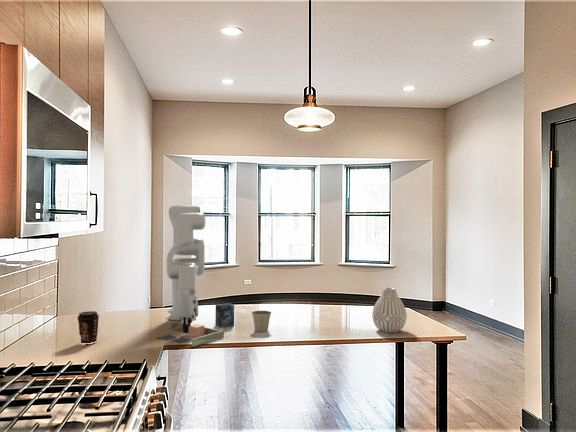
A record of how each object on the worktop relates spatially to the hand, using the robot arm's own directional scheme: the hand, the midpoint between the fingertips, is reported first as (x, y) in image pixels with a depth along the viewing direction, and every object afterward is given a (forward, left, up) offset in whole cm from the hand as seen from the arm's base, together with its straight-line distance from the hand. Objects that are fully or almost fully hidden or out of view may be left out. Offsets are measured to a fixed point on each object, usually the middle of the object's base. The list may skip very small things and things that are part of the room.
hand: (186, 332), depth 229 cm
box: (+2, +24, -1) cm, 24 cm away
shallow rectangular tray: (+1, -4, -1) cm, 4 cm away
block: (+5, +1, -1) cm, 5 cm away
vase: (+73, +60, -1) cm, 95 cm away
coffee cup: (-24, -34, -1) cm, 42 cm away
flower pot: (+23, +26, -1) cm, 35 cm away
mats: (+1, -8, -1) cm, 9 cm away
